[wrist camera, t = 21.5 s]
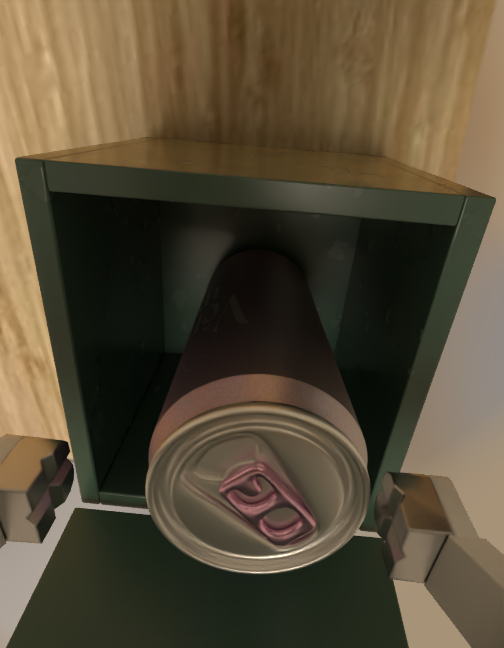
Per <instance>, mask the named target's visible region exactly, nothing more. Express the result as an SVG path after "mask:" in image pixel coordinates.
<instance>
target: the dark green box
mask: <svg viewBox="0 0 504 648" xmlns="http://www.w3.org/2000/svg"><path fill="white" fill-rule="evenodd" d="M15 164H16V169H17V174H18V179H19V184H20V189H21V194H22V199H23V204H24V209H25V214H26V219H27V225H28V230H29V235H30V240H31V245H32V250H33V255H34V260H35V265H36V270H37V275H38V280H39V285H40V291H41V296H42V301H43V306H44V311H45V316H46V321H47V326H48V331H49V336H50V341H51V346H52V351H53V356H54V362H55V367H56V372H57V377H58V382H59V387H60V392H61V397H62V402H63V407H64V412H65V417H66V422H67V428H68V433H69V438H70V443H71V448H72V453H73V458H74V463H75V468H76V473H77V478H78V483H79V488H80V493H81V499H82V502H84V503H93V504H99V503H100V502H101V504H103V505H113V506H122V507H132V508H143V509H148V506H147V501H146V491H145V486H146V477H147V472H148V469H149V447H150V442H151V438H152V435H153V432H154V430H155V427H156V424H157V422H158V419H159V416H160V413H161V411H162V408H163V405H164V403H165V400H166V397H167V395H168V392H169V389H170V387H171V384H172V381H173V378H174V376H175V373H176V370H177V368H178V365H179V362H180V360H181V357H182V354H183V351H184V349H185V346H186V343H187V341H188V338H189V335H190V333H191V330H192V327H193V324H194V322H195V319H196V316H197V314H198V311H199V308H200V306H201V303H202V300H203V298H204V295H205V292H206V289H207V287H208V284H209V281H210V279H211V277H212V275H213V274H214V272H215V271H216V269H217V268H218V267H219V266H220V265H221V264H222V263H223V262H224V261H225V260H227V259H228V258H230V257H231V256H233V255H235V254H238V253H240V252H244V251H248V250H268V251H272V252H276V253H278V254H281V255H283V256H284V257H286V258H288V259H289V260H290V261H292V262H293V263H294V264H295V265H296V266H297V267H298V268H299V269H300V271H301V272H302V274H303V276H304V277H305V280H306V282H307V285H308V287H309V290H310V293H311V295H312V298H313V301H314V304H315V306H316V309H317V312H318V314H319V317H320V320H321V323H322V325H323V328H324V331H325V333H326V336H327V339H328V342H329V344H330V347H331V350H332V352H333V355H334V358H335V361H336V363H337V366H338V369H339V371H340V374H341V377H342V380H343V382H344V385H345V388H346V390H347V393H348V396H349V399H350V401H351V404H352V407H353V409H354V412H355V415H356V417H357V420H358V423H359V426H360V428H361V431H362V434H363V437H364V440H365V443H366V448H367V471H368V475H369V479H370V502H369V507H368V510H367V513H366V516H365V518H364V520H363V522H362V524H361V526H360V527H359V529H360V530H361V531H368V532H377V530H376V525H375V518H374V505H375V500H376V496H377V494H378V493H379V492H381V491H382V490H383V486H382V483H381V481H382V478H383V475H384V474H385V473H386V472H399V473H400V470H401V467H402V465H403V461H404V459H405V456H406V453H407V451H408V448H409V445H410V442H411V439H412V436H413V434H414V431H415V428H416V425H417V422H418V419H419V417H420V414H421V411H422V408H423V405H424V403H425V400H426V397H427V394H428V391H429V388H430V386H431V382H432V380H433V377H434V374H435V371H436V368H437V366H438V363H439V360H440V357H441V354H442V352H443V349H444V346H445V343H446V340H447V338H448V335H449V332H450V329H451V326H452V323H453V320H454V318H455V315H456V312H457V309H458V306H459V304H460V301H461V298H462V295H463V292H464V289H465V286H466V284H467V281H468V278H469V275H470V273H471V270H472V267H473V264H474V261H475V258H476V255H477V253H478V250H479V247H480V244H481V241H482V238H483V236H484V233H485V230H486V227H487V224H488V222H489V219H490V216H491V213H492V210H493V208H494V205H495V202H496V198H494V197H491V196H489V195H486V194H483V193H481V192H478V191H475V190H472V189H470V188H467V187H465V186H462V185H459V184H457V183H454V182H451V181H449V180H446V179H443V178H441V177H438V176H435V175H432V174H430V173H427V172H424V171H422V170H419V169H416V168H414V167H411V166H408V165H406V164H403V163H400V162H398V161H395V160H392V159H390V158H387V157H381V156H369V155H357V154H345V153H333V152H321V151H309V150H297V149H285V148H273V147H261V146H249V145H237V144H224V143H212V142H200V141H188V140H176V139H164V138H152V137H145V138H139V139H132V140H126V141H120V142H113V143H107V144H100V145H94V146H87V147H81V148H74V149H68V150H62V151H55V152H49V153H42V154H36V155H29V156H23V157H18V158H16V159H15ZM359 529H358V530H359Z"/></svg>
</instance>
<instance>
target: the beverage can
mask: <svg viewBox="0 0 504 648" xmlns="http://www.w3.org/2000/svg"><path fill="white" fill-rule="evenodd" d="M145 491H146V501H147V506H148V509H149V512H150V515H151V517H152V519H153V521H154V523H155V525H156V526H157V528H158V529H159V531H160V532H161V533H162V534H163V536H164V537H165V538H166V539H167V540H168V541H169V542H170V543H171V544H172V545H173V546H175V547H176V548H177V549H178V550H180V551H181V552H183V553H184V554H186V555H187V556H189V557H191V558H193V559H195V560H197V561H199V562H201V563H203V564H205V565H208V566H211V567H214V568H217V569H221V570H225V571H229V572H235V573H242V574H276V573H283V572H289V571H293V570H297V569H301V568H304V567H307V566H310V565H312V564H315V563H317V562H319V561H321V560H323V559H325V558H327V557H329V556H330V555H332V554H333V553H335V552H336V551H338V550H339V549H340V548H341V547H343V546H344V545H345V544H346V543H347V542H348V541H349V540H350V539H351V538H352V537H353V536H354V534H355V533H356V532H357V530H358V529H359V527H360V526H361V524H362V522H363V520H364V518H365V516H366V513H367V510H368V507H369V502H370V479H369V475H368V471H367V448H366V443H365V440H364V437H363V434H362V431H361V428H360V426H359V423H358V420H357V417H356V415H355V412H354V409H353V407H352V404H351V401H350V399H349V396H348V393H347V390H346V388H345V385H344V382H343V380H342V377H341V374H340V371H339V369H338V366H337V363H336V361H335V358H334V355H333V352H332V350H331V347H330V344H329V342H328V339H327V336H326V333H325V331H324V328H323V325H322V323H321V320H320V317H319V314H318V312H317V309H316V306H315V304H314V301H313V298H312V295H311V293H310V290H309V287H308V285H307V282H306V280H305V277H304V276H303V274H302V272H301V271H300V269H299V268H298V267H297V266H296V265H295V264H294V263H293V262H292V261H290V260H289V259H288V258H286V257H284V256H283V255H281V254H278V253H276V252H272V251H268V250H248V251H244V252H240V253H238V254H235V255H233V256H231V257H230V258H228V259H227V260H225V261H224V262H223V263H222V264H221V265H220V266H219V267H218V268H217V269H216V271H215V272H214V274H213V275H212V277H211V279H210V281H209V284H208V287H207V289H206V292H205V295H204V298H203V300H202V303H201V306H200V308H199V311H198V314H197V316H196V319H195V322H194V324H193V327H192V330H191V333H190V335H189V338H188V341H187V343H186V346H185V349H184V351H183V354H182V357H181V360H180V362H179V365H178V368H177V370H176V373H175V376H174V378H173V381H172V384H171V387H170V389H169V392H168V395H167V397H166V400H165V403H164V405H163V408H162V411H161V413H160V416H159V419H158V422H157V424H156V427H155V430H154V432H153V435H152V438H151V442H150V447H149V469H148V472H147V477H146V486H145Z"/></svg>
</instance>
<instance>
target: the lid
mask: <svg viewBox="0 0 504 648" xmlns="http://www.w3.org/2000/svg"><path fill="white" fill-rule="evenodd" d="M383 545H384V540H383V539H382V538H374V537H362V536H353V537H352V538H351V539H350V540H349V541H348V542H347V543H346V544H345V545H344V546H343V547H341V548H340V549H339V550H338V551H336V552H335V553H333V554H332V555H330V556H329V557H327V558H325V559H323V560H321V561H319V562H317V563H315V564H312V565H310V566H307V567H304V568H301V569H297V570H293V571H289V572H283V573H276V574H242V573H235V572H229V571H225V570H221V569H217V568H214V567H211V566H208V565H205V564H203V563H201V562H199V561H197V560H195V559H193V558H191V557H189V556H187V555H186V554H184V553H183V552H181V551H180V550H178V549H177V548H176V547H175V546H173V545H172V544H171V543H170V542H169V541H168V540H167V539H166V538H165V537H164V536H163V534H162V533H161V532H160V531H159V529H158V528H157V526H156V525H155V523H154V521H153V519H152V517H151V515H143V514H134V513H124V512H115V511H105V510H95V509H84V508H75V509H74V511H73V514H72V515H71V517H70V520H69V521H68V523H67V525H66V528H65V529H64V532H63V534H62V536H61V538H60V540H59V542H58V544H57V546H56V548H55V550H54V552H53V554H52V556H51V558H50V560H49V562H48V564H47V566H46V568H45V570H44V572H43V574H42V576H41V578H40V580H39V582H38V584H37V586H36V588H35V590H34V592H33V594H32V596H31V599H30V600H29V603H28V604H27V606H26V609H25V611H24V613H23V615H22V617H21V619H20V621H19V623H18V625H17V627H16V629H15V631H14V633H13V635H12V637H11V639H10V641H9V643H8V645H7V647H6V648H409V647H408V642H407V638H406V634H405V630H404V625H403V621H402V617H401V612H400V608H399V604H398V599H397V595H396V591H395V586H394V582H393V579H388V575H387V571H386V567H385V563H384V559H383V555H382V548H383Z"/></svg>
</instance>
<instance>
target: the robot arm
mask: <svg viewBox="0 0 504 648" xmlns="http://www.w3.org/2000/svg"><path fill="white" fill-rule="evenodd" d="M69 453H70V449H69V445H68V442H66V441H62V440H54V439H46V438H38V437H29V436H19V435H10V434H6V435H4V436H3V437H1V438H0V548H1V547H2V546H3V545H4V544H6V541H14V542H28V543H42V542H43V540H44V538H45V537H46V535H47V533H48V531H49V529H50V528H51V526H52V524H53V522H54V520H55V519H56V517H55V512H54V509H55V508H57V507H58V506H60V505H61V504H62V503H64V502H65V500H66V498H67V497H68V495H69V493H70V490H71V487H72V484H73V480H74V468H73V464H72V463H71V462H70V461H69V460H68V459H67V456H68V454H69ZM381 483H382V486H383V490H382V491H381V492H379V493H378V494H377V496H376V500H375V505H374V518H375V525H376V530H377V533H378V534H379V536H380V537H381V538H382V539H383V540H384V541H385V542H384V545H383V548H382V555H383V559H384V563H385V567H386V571H387V575H388V579H395V580H403V581H410V582H418V583H425V587H426V588H427V590H428V591H429V592H430V593H431V595H432V596H433V597H434V599H435V600H436V601H437V603H438V604H439V605H440V607H441V608H442V609H443V610H444V612H445V613H446V614H447V616H448V617H449V618H450V620H451V621H452V622H453V624H454V625H455V626H456V628H457V629H458V630H459V632H460V633H461V634H462V635H463V637H464V638H465V639H466V641H467V642H468V643H469V645H470V646H471V647H472V648H504V555H503V554H502V553H501V552H500V551H499V550H497V549H496V548H495V547H494V546H493V545H492V544H491V543H490V542H489V541H487V540H486V539H482V538H479V536H478V534H477V532H476V530H475V528H474V526H473V524H472V522H471V520H470V518H469V516H468V514H467V512H466V510H465V508H464V506H463V504H462V502H461V500H460V497H459V495H458V493H457V491H456V489H455V487H454V485H453V483H452V481H451V480H450V479H449V478H448V477H443V476H432V475H422V474H411V473H399V472H386V473H385V474H384V475H383V478H382V481H381Z"/></svg>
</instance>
